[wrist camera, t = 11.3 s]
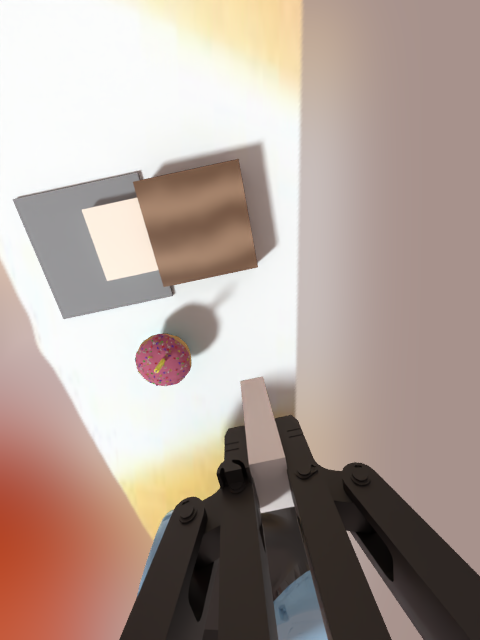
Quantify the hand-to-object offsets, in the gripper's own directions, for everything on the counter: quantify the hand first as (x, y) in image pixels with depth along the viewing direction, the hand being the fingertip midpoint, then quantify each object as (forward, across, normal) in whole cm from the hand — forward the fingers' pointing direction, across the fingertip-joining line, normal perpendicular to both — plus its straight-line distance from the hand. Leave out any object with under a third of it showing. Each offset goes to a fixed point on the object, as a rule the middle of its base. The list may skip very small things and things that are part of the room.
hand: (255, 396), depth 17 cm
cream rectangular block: (+26, +14, -14) cm, 32 cm away
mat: (+26, +19, -13) cm, 35 cm away
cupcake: (+27, +13, +5) cm, 30 cm away
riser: (+26, +3, -13) cm, 30 cm away
